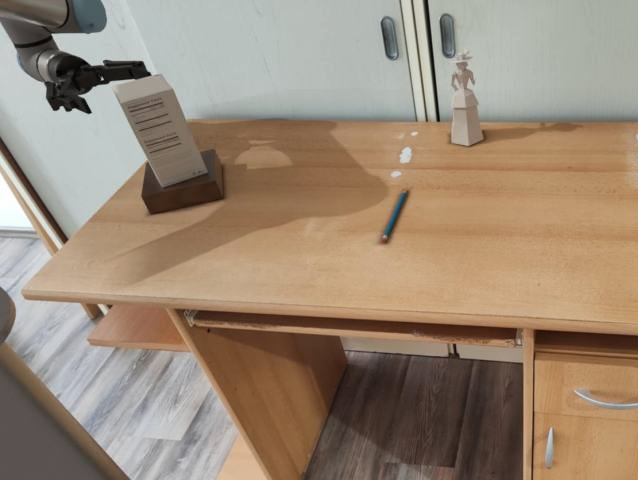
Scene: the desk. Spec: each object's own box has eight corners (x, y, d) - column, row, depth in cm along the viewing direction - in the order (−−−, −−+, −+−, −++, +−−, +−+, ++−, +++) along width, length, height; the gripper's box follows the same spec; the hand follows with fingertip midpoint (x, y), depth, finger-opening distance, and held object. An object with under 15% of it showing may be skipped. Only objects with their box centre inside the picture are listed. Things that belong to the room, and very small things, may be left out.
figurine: (479, 127, 129) (474, 40, 116) (486, 144, 124) (482, 54, 111) (448, 131, 129) (440, 45, 116) (453, 148, 123) (445, 59, 110)
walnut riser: (150, 214, 114) (140, 196, 111) (154, 180, 123) (145, 162, 121) (223, 198, 116) (215, 180, 113) (221, 165, 126) (214, 148, 123)
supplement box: (151, 169, 118) (109, 85, 106) (196, 154, 121) (160, 71, 109) (162, 189, 112) (119, 102, 100) (209, 173, 115) (173, 87, 103)
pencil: (381, 243, 102) (380, 240, 101) (404, 190, 113) (403, 187, 113) (385, 243, 102) (385, 240, 101) (408, 190, 113) (407, 187, 113)
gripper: (130, 70, 130) (184, 88, 121) (18, 113, 118) (68, 138, 108) (113, 34, 125) (168, 50, 115) (-6, 75, 112) (44, 97, 102)
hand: (120, 92), depth 111 cm, fingers open, 13 cm apart
